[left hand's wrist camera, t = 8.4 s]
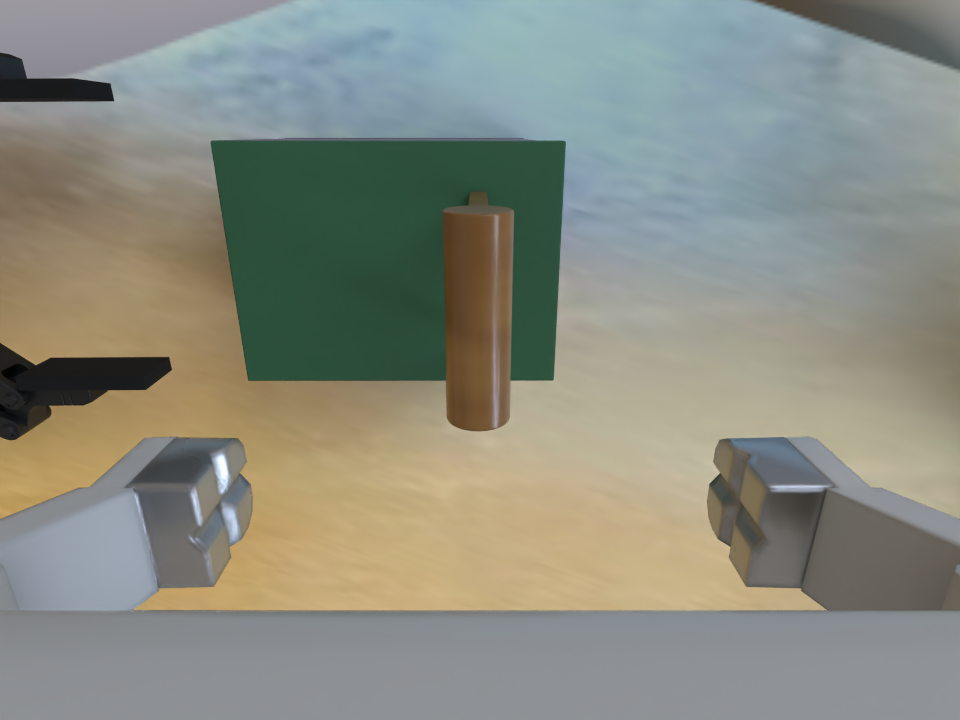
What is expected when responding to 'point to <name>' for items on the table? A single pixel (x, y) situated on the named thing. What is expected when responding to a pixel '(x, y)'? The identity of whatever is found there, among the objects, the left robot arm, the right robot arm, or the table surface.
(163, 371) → the right robot arm
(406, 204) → the lid
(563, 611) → the left robot arm
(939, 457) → the table surface
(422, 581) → the table surface
